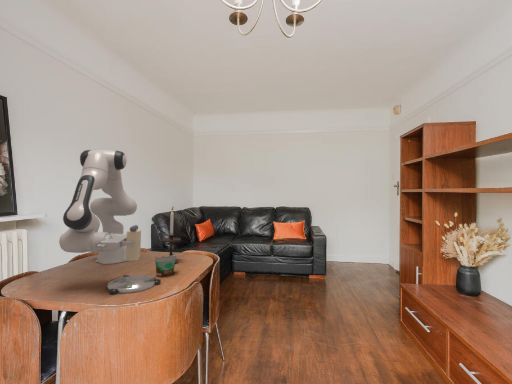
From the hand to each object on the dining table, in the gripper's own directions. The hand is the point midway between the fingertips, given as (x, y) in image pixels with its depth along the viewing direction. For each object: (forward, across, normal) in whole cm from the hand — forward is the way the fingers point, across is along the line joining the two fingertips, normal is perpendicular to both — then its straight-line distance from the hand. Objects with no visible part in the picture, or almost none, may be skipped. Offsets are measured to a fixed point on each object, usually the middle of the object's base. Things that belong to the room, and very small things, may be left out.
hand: (135, 241), depth 118 cm
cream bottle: (-1, 0, +8) cm, 8 cm away
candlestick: (+12, +38, +20) cm, 45 cm away
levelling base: (0, 0, +20) cm, 20 cm away
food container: (+13, +13, +20) cm, 27 cm away
